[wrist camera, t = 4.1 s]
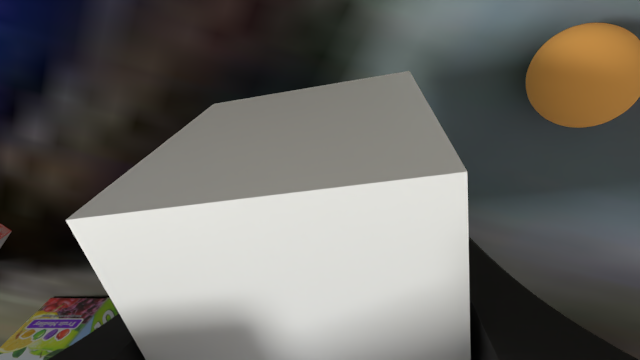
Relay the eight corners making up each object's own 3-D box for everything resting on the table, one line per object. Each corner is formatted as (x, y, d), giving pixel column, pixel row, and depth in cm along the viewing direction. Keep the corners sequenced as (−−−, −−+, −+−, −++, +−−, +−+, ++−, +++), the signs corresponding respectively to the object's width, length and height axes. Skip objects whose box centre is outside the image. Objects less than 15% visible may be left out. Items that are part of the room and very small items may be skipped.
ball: (509, 116, 18) (545, 148, 14) (514, 27, 16) (556, 39, 13) (601, 104, 17) (663, 135, 14) (617, 10, 15) (693, 17, 12)
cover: (280, 313, 16) (231, 508, 10) (213, 104, 12) (65, 220, 6) (428, 304, 15) (473, 516, 9) (409, 70, 11) (467, 171, 5)
